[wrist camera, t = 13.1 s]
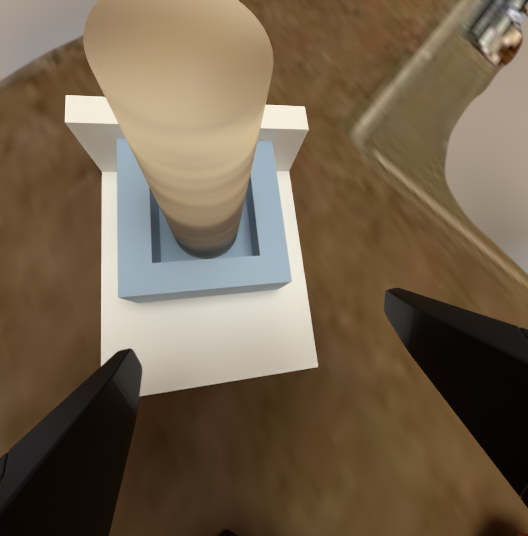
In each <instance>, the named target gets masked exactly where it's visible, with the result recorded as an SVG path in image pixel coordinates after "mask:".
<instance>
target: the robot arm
mask: <svg viewBox="0 0 528 536" xmlns="http://www.w3.org/2000/svg"><path fill="white" fill-rule="evenodd" d="M384 312H385V315H386V316H387V318H388V320H389V321H390V323H391V324H392V326H393V328H394V329H395V331H396V333H397V334H398V336H399V338H400V339H401V341H402V342H403V344H404V346H405V347H406V349H407V350H408V352H409V353H410V354H411V356H412V357H413V358H414V360H415V361H416V362H417V364H418V365H419V366H420V368H421V369H422V370H423V371H424V373H425V374H426V375H427V377H428V378H429V379H430V381H431V382H432V383H433V384H434V386H435V387H436V388H437V390H438V391H439V392H440V394H441V395H442V396H443V398H444V399H445V400H446V401H447V403H448V404H449V405H450V407H451V408H452V409H453V411H454V412H455V413H456V414H457V416H458V417H459V418H460V420H461V421H462V422H463V424H464V425H465V426H466V428H467V429H468V430H469V431H470V433H471V434H472V435H473V437H474V438H475V439H476V441H477V442H478V443H479V445H480V446H481V447H482V448H483V450H484V451H485V452H486V454H487V455H488V456H489V458H490V459H491V460H492V461H493V463H494V464H495V465H496V467H497V468H498V469H499V471H500V472H501V473H502V475H503V476H504V477H505V478H506V480H507V481H508V482H509V484H510V485H511V486H512V488H513V489H514V490H515V491H516V493H517V494H518V495H519V496H520V497H521V500H522V501H523V502H524V504H525V505H526V506H527V508H528V329H525V328H519V327H518V326H515V325H512V324H509V323H506V322H503V321H500V320H497V319H493V318H490V317H487V316H484V315H481V314H478V313H475V312H472V311H469V310H466V309H462V308H459V307H456V306H453V305H450V304H447V303H444V302H441V301H438V300H435V299H432V298H428V297H425V296H422V295H419V294H416V293H413V292H410V291H407V290H404V289H401V288H393V289H389V290H387V291H386V292H385V300H384ZM141 379H142V365H141V363H140V361H139V359H138V358H137V356H136V354H135V352H134V351H133V350H132V349H130V348H129V349H124V350H120V351H118V352H116V353H115V354H114V355H113V356H112V357H111V358H110V359H109V360H108V361H107V362H105V363H104V364H103V365H102V366H101V367H100V368H99V369H98V370H97V371H96V372H94V373H93V374H92V375H91V376H90V377H89V378H88V379H87V380H86V381H85V382H83V383H82V384H81V385H80V386H79V387H78V388H77V389H76V390H75V391H74V392H72V393H71V394H70V395H69V396H68V397H67V398H66V399H65V400H64V401H63V402H61V403H60V404H59V405H58V406H57V407H56V408H55V409H54V410H53V411H52V412H51V413H49V414H48V415H47V416H46V417H45V418H44V419H43V420H42V421H41V422H40V423H38V424H37V425H36V426H35V427H34V428H33V429H32V430H31V431H30V432H29V433H27V434H26V435H25V436H24V437H23V438H22V439H21V440H20V441H19V442H18V443H16V444H15V445H14V446H13V447H12V448H11V449H10V450H9V452H8V453H6V454H4V455H3V456H2V457H1V458H0V536H109V533H110V529H111V524H112V520H113V516H114V512H115V507H116V503H117V499H118V495H119V490H120V486H121V482H122V477H123V473H124V469H125V465H126V460H127V456H128V452H129V448H130V443H131V439H132V435H133V431H134V426H135V422H136V417H137V411H138V403H139V395H140V387H141ZM220 536H236V535H234V534H233V533H231V532H229V531H224V532H222V533H221V534H220Z"/></svg>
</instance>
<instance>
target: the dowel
mask: <svg viewBox="0 0 528 536" xmlns="http://www.w3.org/2000/svg"><path fill="white" fill-rule="evenodd" d="M84 48H85V54H86V57H87V60H88V62H89V65H90V67H91V69H92V71H93V73H94V75H95V77H96V79H97V81H98V83H99V85H100V87H101V89H102V91H103V93H104V95H105V97H106V99H107V101H108V104H109V106H110V108H111V110H112V112H113V114H114V116H115V118H116V120H117V122H118V124H119V126H120V128H121V130H122V132H123V134H124V136H125V138H126V140H127V142H128V144H129V146H130V148H131V150H132V152H133V154H134V156H135V158H136V160H137V162H138V164H139V167H140V169H141V171H142V173H143V175H144V177H145V179H146V181H147V183H148V185H149V187H150V189H151V191H152V193H153V195H154V197H155V199H156V201H157V203H158V205H159V207H160V209H161V211H162V213H163V215H164V217H165V219H166V221H167V223H168V225H169V227H170V229H171V232H172V234H173V236H174V238H175V240H176V242H177V243H178V245H179V246H180V248H181V249H182V250H183V251H185V252H186V253H187V254H189V255H191V256H193V257H196V258H200V259H212V258H216V257H219V256H221V255H223V254H225V253H226V252H227V251H229V250H230V248H231V247H232V246H233V244H234V243H235V241H236V238H237V234H238V229H239V225H240V220H241V215H242V211H243V206H244V201H245V197H246V192H247V188H248V183H249V178H250V174H251V169H252V164H253V160H254V155H255V151H256V146H257V141H258V137H259V132H260V127H261V123H262V118H263V114H264V109H265V104H266V100H267V95H268V90H269V86H270V81H271V77H272V71H273V52H272V47H271V44H270V41H269V38H268V36H267V34H266V32H265V30H264V28H263V27H262V25H261V24H260V22H259V21H258V19H257V18H256V17H255V16H254V15H253V13H252V12H251V11H250V10H249V9H248V8H246V7H245V6H244V5H243V4H242V3H241V2H239V1H238V0H99V1H98V2H97V3H96V4H95V6H94V7H93V8H92V10H91V12H90V14H89V15H88V18H87V21H86V24H85V29H84Z"/></svg>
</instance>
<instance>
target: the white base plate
mask: <svg viewBox="0 0 528 536" xmlns="http://www.w3.org/2000/svg"><path fill="white" fill-rule="evenodd" d="M65 123H66V125H67V126H68V127H69V129H70V130H71V131H72V133H73V134H74V135H75V137H76V138H77V139H78V141H79V142H80V143H81V145H82V146H83V147H84V149H85V150H86V151H87V153H88V154H89V155H90V157H91V158H92V159H93V161H94V162H95V163H96V165H97V166H98V167H99V169H100V170H101V171H102V265H101V366H102V365H103V364H104V363H105V362H107V361H108V360H109V359H110V358H111V357H112V356H113V355H114V354H115V353H116V352H118V351H120V350H124V349H129V348H130V349H132V350H133V351H134V352H135V354H136V356H137V358H138V359H139V361H140V363H141V365H142V379H141V387H140V395H139V396H145V395H151V394H157V393H163V392H170V391H176V390H182V389H188V388H194V387H200V386H206V385H212V384H218V383H224V382H230V381H236V380H243V379H249V378H255V377H261V376H267V375H273V374H279V373H285V372H291V371H297V370H303V369H310V368H316V367H318V362H317V355H316V348H315V342H314V335H313V328H312V322H311V315H310V308H309V302H308V295H307V288H306V282H305V275H304V268H303V262H302V255H301V248H300V242H299V235H298V228H297V222H296V215H295V208H294V202H293V195H292V188H291V182H290V175H289V170H290V168H291V166H292V164H293V162H294V159H295V157H296V155H297V153H298V151H299V149H300V147H301V145H302V143H303V140H304V138H305V136H306V134H307V132H308V130H309V129H308V123H307V117H306V111H305V107H303V106H282V105H265V109H264V114H263V118H262V123H261V127H260V132H259V137H258V141H272V143H273V150H274V157H275V164H276V171H277V178H278V186H279V193H280V200H281V207H282V214H283V221H284V228H285V236H286V243H287V250H288V257H289V264H290V271H291V279H292V282H290V283H288V284H287V285H285V286H283V287H281V288H280V289H276V290H265V291H255V292H245V293H235V294H224V295H214V296H204V297H194V298H183V299H173V300H163V301H153V302H142V303H136V302H132V301H128V300H125V299H121V298H118V248H117V138H125V136H124V134H123V132H122V130H121V128H120V126H119V124H118V122H117V120H116V118H115V116H114V114H113V112H112V110H111V108H110V106H109V104H108V101H107V99H106V97H95V96H75V95H66V103H65Z"/></svg>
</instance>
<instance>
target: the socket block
mask: <svg viewBox="0 0 528 536" xmlns="http://www.w3.org/2000/svg"><path fill="white" fill-rule="evenodd" d="M117 248H118V298H121V299H125V300H128V301H132V302H136V303H142V302H153V301H163V300H173V299H183V298H194V297H204V296H214V295H224V294H235V293H245V292H255V291H265V290H276V289H280V288H281V287H283V286H285V285H287V284H288V283H290V282H292V279H291V271H290V264H289V257H288V250H287V243H286V236H285V228H284V221H283V214H282V207H281V200H280V193H279V186H278V178H277V171H276V164H275V157H274V150H273V143H272V141H257V146H256V151H255V155H254V160H253V164H252V169H251V174H250V178H249V183H248V188H247V192H246V197H245V201H244V206H243V211H242V215H241V220H240V225H239V229H238V234H237V238H236V241H235V243H234V244H233V246H232V247H231V248H230V250H229V251H227V252H226V253H225V254H223V255H221V256H219V257H216V258H212V259H200V258H196V257H193V256H191V255H189V254H187V253H186V252H185V251H183V250H182V249H181V248H180V246H179V245H178V243H177V242H176V240H175V238H174V236H173V234H172V232H171V229H170V227H169V225H168V223H167V221H166V219H165V217H164V215H163V213H162V211H161V209H160V207H159V205H158V203H157V201H156V199H155V197H154V195H153V193H152V191H151V189H150V187H149V185H148V183H147V181H146V179H145V177H144V175H143V173H142V171H141V169H140V167H139V164H138V162H137V160H136V158H135V156H134V154H133V152H132V150H131V148H130V146H129V144H128V142H127V140H126V138H117Z"/></svg>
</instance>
